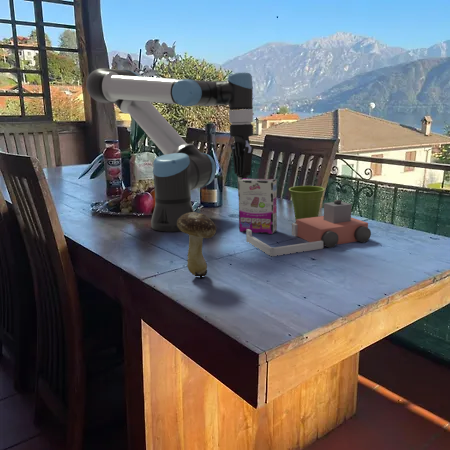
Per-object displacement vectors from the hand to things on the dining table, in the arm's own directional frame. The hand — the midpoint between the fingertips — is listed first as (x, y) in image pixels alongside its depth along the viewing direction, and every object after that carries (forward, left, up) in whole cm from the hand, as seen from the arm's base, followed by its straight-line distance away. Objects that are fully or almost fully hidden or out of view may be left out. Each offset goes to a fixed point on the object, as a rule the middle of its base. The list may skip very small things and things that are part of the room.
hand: (242, 196), depth 150 cm
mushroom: (-30, -42, -9) cm, 52 cm away
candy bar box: (0, -12, -9) cm, 15 cm away
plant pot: (+20, -8, -9) cm, 23 cm away
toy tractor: (+8, -28, -9) cm, 30 cm away
